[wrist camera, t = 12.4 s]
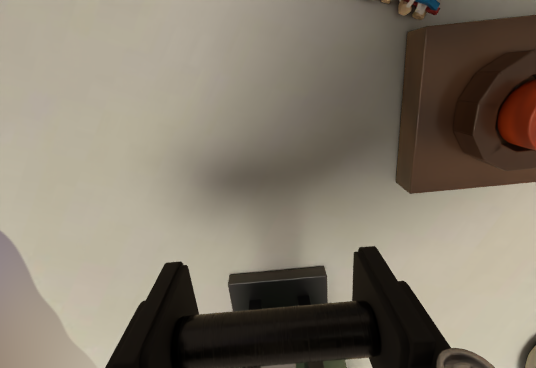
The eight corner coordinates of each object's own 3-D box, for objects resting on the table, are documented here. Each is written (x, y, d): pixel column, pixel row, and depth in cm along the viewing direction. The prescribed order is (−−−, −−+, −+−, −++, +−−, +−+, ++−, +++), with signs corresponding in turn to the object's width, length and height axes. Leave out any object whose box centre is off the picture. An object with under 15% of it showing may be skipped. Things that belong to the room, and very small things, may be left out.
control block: (406, 32, 17) (446, 20, 14) (587, 13, 17) (678, -5, 13) (395, 182, 21) (424, 205, 17) (544, 168, 21) (606, 188, 17)
